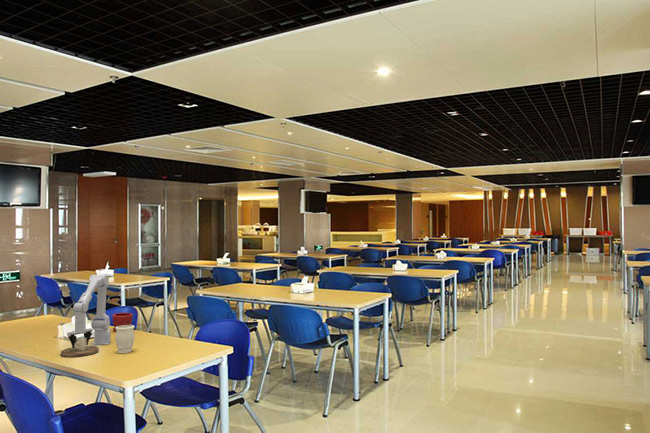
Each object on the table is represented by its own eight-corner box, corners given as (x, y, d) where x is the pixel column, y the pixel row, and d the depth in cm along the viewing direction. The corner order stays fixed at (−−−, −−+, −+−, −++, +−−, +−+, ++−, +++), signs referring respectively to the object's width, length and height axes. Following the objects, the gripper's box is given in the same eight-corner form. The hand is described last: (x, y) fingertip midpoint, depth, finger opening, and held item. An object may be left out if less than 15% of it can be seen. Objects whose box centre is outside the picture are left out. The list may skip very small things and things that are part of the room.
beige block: (78, 348, 289) (78, 337, 289) (86, 348, 289) (86, 337, 289) (71, 352, 281) (71, 340, 281) (79, 352, 281) (79, 341, 281)
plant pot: (114, 333, 339) (114, 316, 339) (111, 330, 350) (111, 313, 350) (134, 331, 346) (134, 314, 346) (130, 328, 357) (130, 311, 357)
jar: (138, 350, 292) (138, 325, 292) (125, 354, 282) (126, 328, 282) (123, 349, 295) (124, 324, 296) (111, 353, 286) (111, 327, 286)
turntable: (72, 348, 296) (72, 340, 296) (104, 348, 296) (104, 340, 296) (53, 356, 276) (53, 349, 276) (88, 357, 276) (88, 349, 276)
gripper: (88, 320, 295) (87, 342, 295) (64, 324, 283) (64, 347, 282) (94, 321, 291) (94, 344, 291) (71, 325, 279) (70, 349, 279)
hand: (80, 346), depth 286 cm, fingers closed on beige block, 7 cm apart
